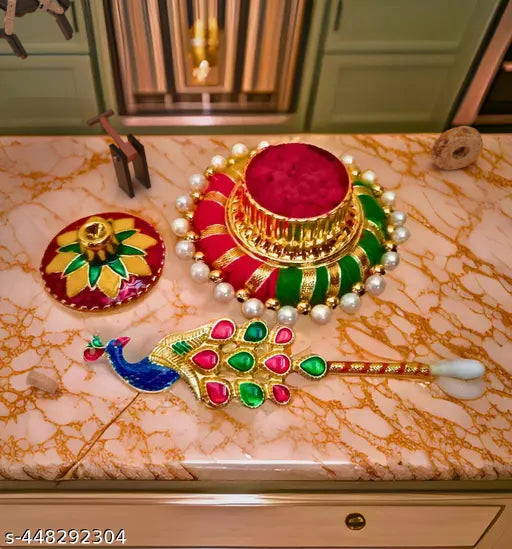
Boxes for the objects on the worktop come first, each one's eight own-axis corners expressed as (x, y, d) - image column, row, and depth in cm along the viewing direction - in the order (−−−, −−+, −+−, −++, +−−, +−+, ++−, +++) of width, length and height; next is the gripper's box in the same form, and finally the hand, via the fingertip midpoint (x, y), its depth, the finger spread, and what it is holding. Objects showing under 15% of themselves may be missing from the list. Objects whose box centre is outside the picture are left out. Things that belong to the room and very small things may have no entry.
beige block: (38, 376, 97) (29, 364, 92) (64, 385, 96) (56, 374, 92) (30, 390, 95) (20, 379, 91) (55, 400, 94) (47, 389, 90)
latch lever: (86, 125, 111) (86, 118, 109) (110, 113, 113) (110, 105, 111) (120, 167, 110) (120, 161, 108) (143, 154, 112) (144, 147, 110)
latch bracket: (104, 184, 120) (92, 138, 109) (136, 166, 123) (127, 120, 112) (135, 216, 116) (125, 172, 105) (167, 197, 119) (161, 152, 108)
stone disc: (429, 173, 125) (443, 139, 116) (424, 161, 127) (438, 126, 118) (475, 169, 126) (492, 136, 117) (469, 157, 128) (486, 123, 119)
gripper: (-49, -45, 87) (12, 58, 92) (36, -73, 92) (89, 26, 98) (-50, -26, 94) (7, 70, 99) (29, -53, 99) (79, 38, 104)
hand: (48, 48), depth 98 cm, fingers open, 8 cm apart
